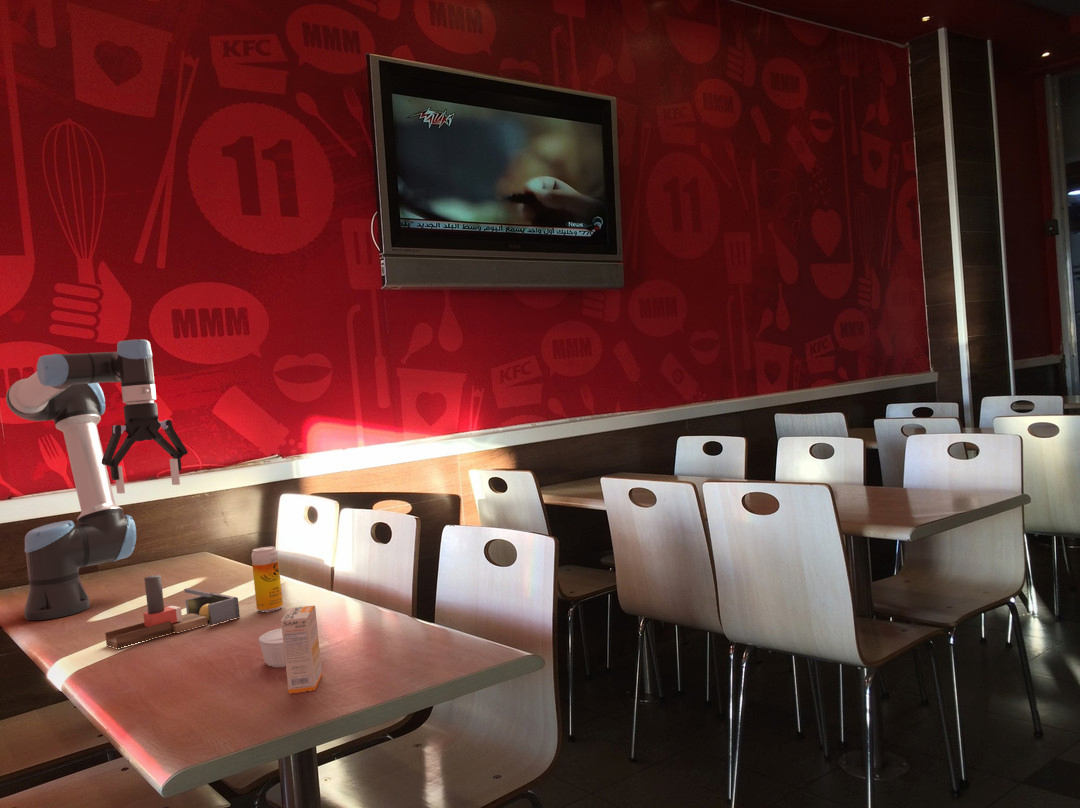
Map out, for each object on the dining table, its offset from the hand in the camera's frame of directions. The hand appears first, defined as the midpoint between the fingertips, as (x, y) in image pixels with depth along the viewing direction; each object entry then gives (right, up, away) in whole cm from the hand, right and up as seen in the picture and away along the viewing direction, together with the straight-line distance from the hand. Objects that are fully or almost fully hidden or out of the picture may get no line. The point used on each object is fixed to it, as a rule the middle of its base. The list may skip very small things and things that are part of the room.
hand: (149, 489), depth 217 cm
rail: (+7, -32, -20) cm, 38 cm away
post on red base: (+10, -29, -16) cm, 35 cm away
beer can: (+31, -29, -3) cm, 42 cm away
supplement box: (+55, -29, -61) cm, 87 cm away
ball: (+18, -29, -8) cm, 34 cm away
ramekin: (+48, -29, -45) cm, 72 cm away
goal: (+19, -30, -7) cm, 36 cm away
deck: (+14, -31, -12) cm, 36 cm away
